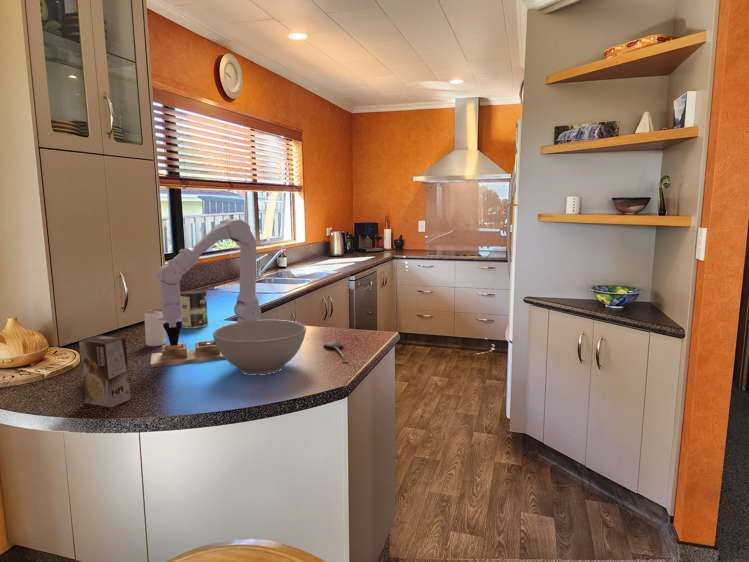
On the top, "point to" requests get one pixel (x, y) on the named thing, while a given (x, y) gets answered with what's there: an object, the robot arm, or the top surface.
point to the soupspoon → (336, 347)
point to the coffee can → (194, 308)
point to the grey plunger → (206, 343)
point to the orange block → (174, 346)
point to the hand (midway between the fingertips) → (174, 344)
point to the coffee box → (105, 370)
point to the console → (186, 355)
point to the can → (154, 328)
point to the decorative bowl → (259, 344)
